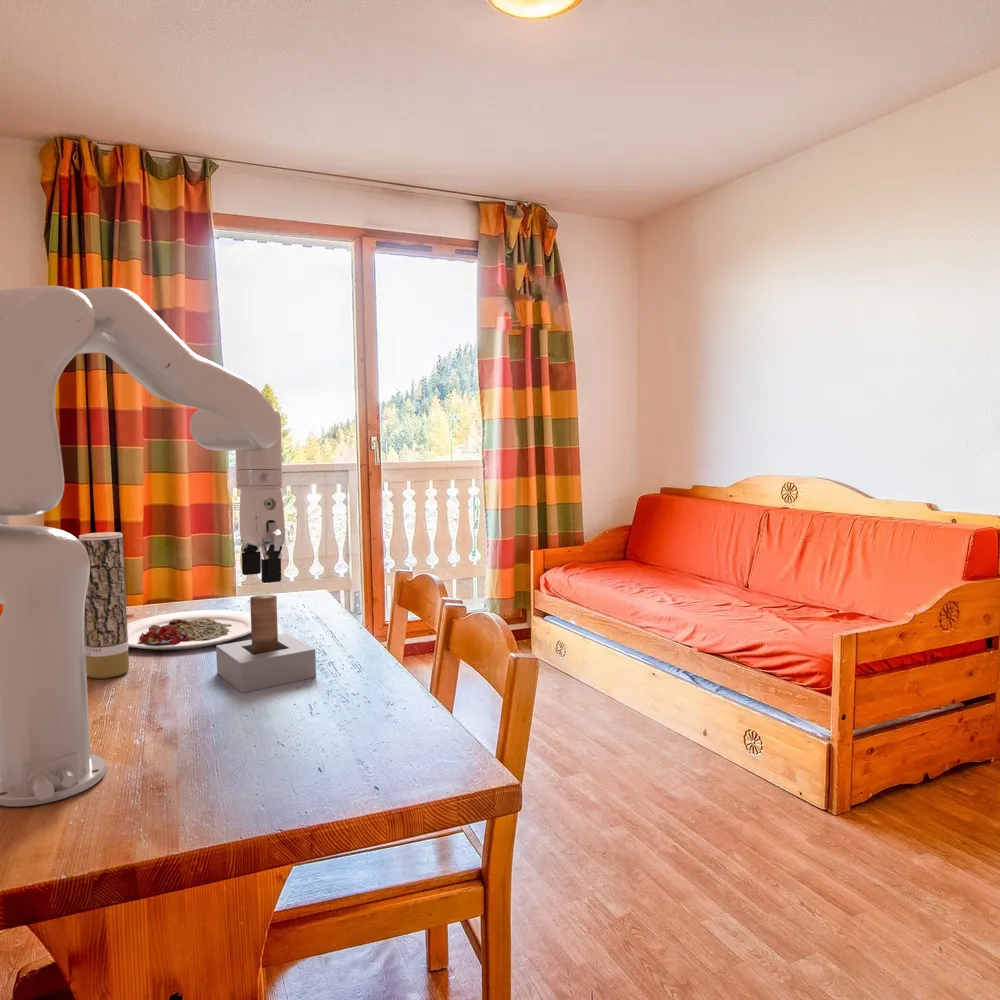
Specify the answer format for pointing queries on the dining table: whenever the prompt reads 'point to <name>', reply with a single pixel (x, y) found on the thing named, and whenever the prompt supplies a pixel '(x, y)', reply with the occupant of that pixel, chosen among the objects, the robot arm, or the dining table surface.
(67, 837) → the dining table surface
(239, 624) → the plated food
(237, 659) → the socket
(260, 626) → the peg
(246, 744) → the dining table surface
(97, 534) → the paper tube
